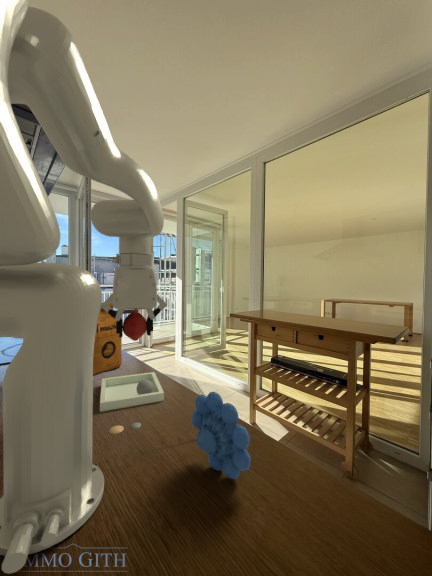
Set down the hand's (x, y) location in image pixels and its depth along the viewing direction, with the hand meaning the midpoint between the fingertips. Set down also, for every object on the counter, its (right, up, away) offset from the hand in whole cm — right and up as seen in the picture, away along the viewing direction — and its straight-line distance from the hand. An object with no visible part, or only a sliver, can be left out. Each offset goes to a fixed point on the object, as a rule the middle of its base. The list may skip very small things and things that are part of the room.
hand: (135, 334), depth 61 cm
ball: (+2, -15, 0) cm, 16 cm away
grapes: (+20, -17, -22) cm, 35 cm away
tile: (+2, -16, -13) cm, 21 cm away
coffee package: (-17, -15, +18) cm, 29 cm away
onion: (0, -2, 0) cm, 2 cm away
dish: (-2, -16, +2) cm, 16 cm away
